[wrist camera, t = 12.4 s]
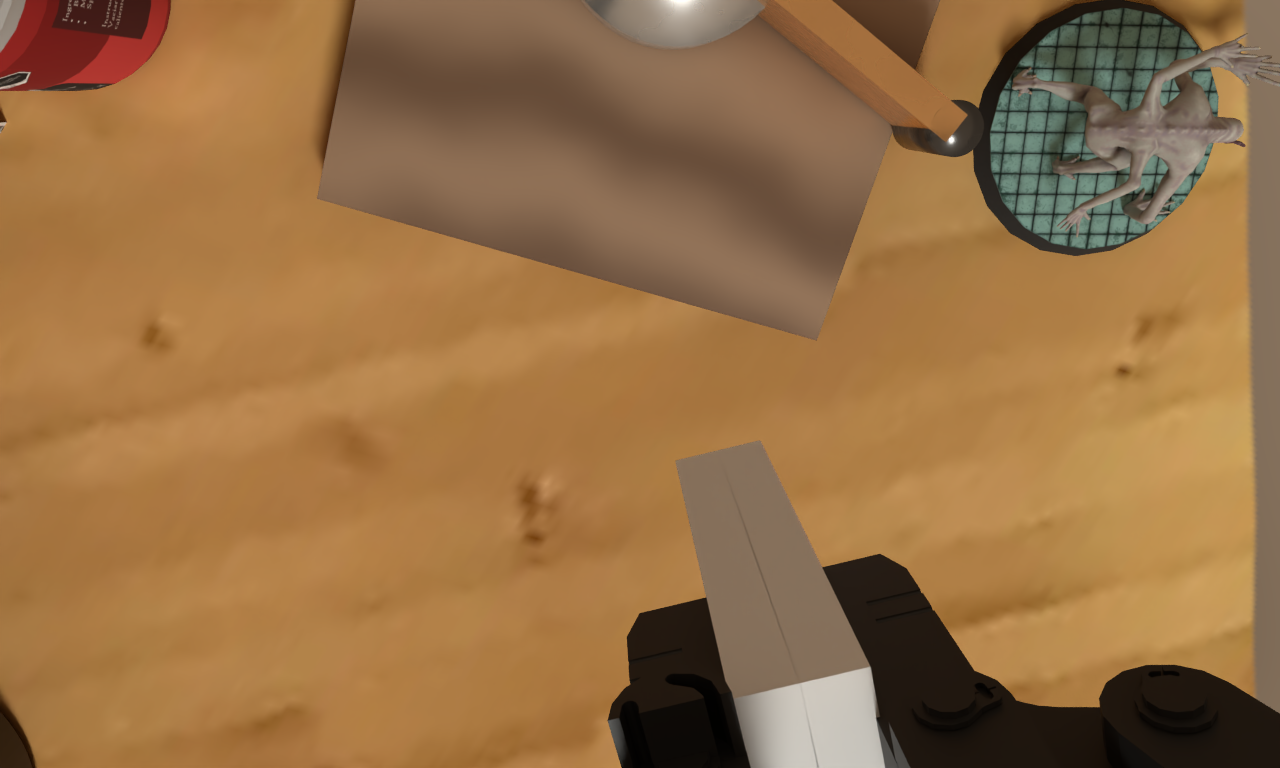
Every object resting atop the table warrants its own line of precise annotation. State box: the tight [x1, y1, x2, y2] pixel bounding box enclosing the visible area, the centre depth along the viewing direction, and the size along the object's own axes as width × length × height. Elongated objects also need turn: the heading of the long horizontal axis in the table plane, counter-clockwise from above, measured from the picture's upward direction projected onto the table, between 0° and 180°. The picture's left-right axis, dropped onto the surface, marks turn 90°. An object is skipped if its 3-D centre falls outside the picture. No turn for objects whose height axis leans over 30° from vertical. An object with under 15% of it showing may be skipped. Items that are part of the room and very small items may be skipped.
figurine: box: [973, 0, 1280, 256], centre depth 38 cm, size 11×12×6 cm
